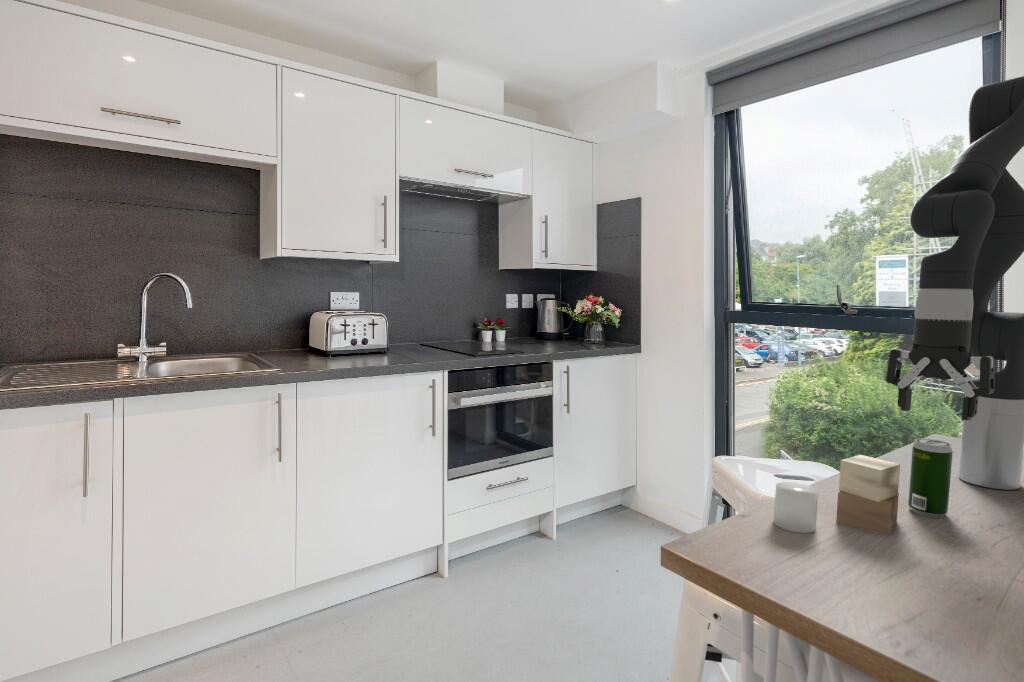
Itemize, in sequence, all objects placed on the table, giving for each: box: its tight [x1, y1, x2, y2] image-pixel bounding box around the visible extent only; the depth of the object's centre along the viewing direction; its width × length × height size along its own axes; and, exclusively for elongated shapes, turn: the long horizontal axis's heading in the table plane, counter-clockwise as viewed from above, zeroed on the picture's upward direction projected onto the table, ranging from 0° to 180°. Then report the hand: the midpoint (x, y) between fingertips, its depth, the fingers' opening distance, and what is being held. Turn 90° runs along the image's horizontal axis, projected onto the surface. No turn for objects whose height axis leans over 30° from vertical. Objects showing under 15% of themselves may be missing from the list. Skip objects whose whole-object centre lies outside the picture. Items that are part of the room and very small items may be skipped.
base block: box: [835, 490, 900, 536], centre depth 91 cm, size 7×7×5 cm
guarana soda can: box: [907, 438, 954, 519], centre depth 96 cm, size 5×5×12 cm
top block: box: [838, 454, 901, 502], centre depth 91 cm, size 6×6×5 cm
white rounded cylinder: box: [773, 481, 819, 534], centre depth 90 cm, size 6×6×6 cm
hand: (934, 414), depth 95 cm, fingers open, 8 cm apart
